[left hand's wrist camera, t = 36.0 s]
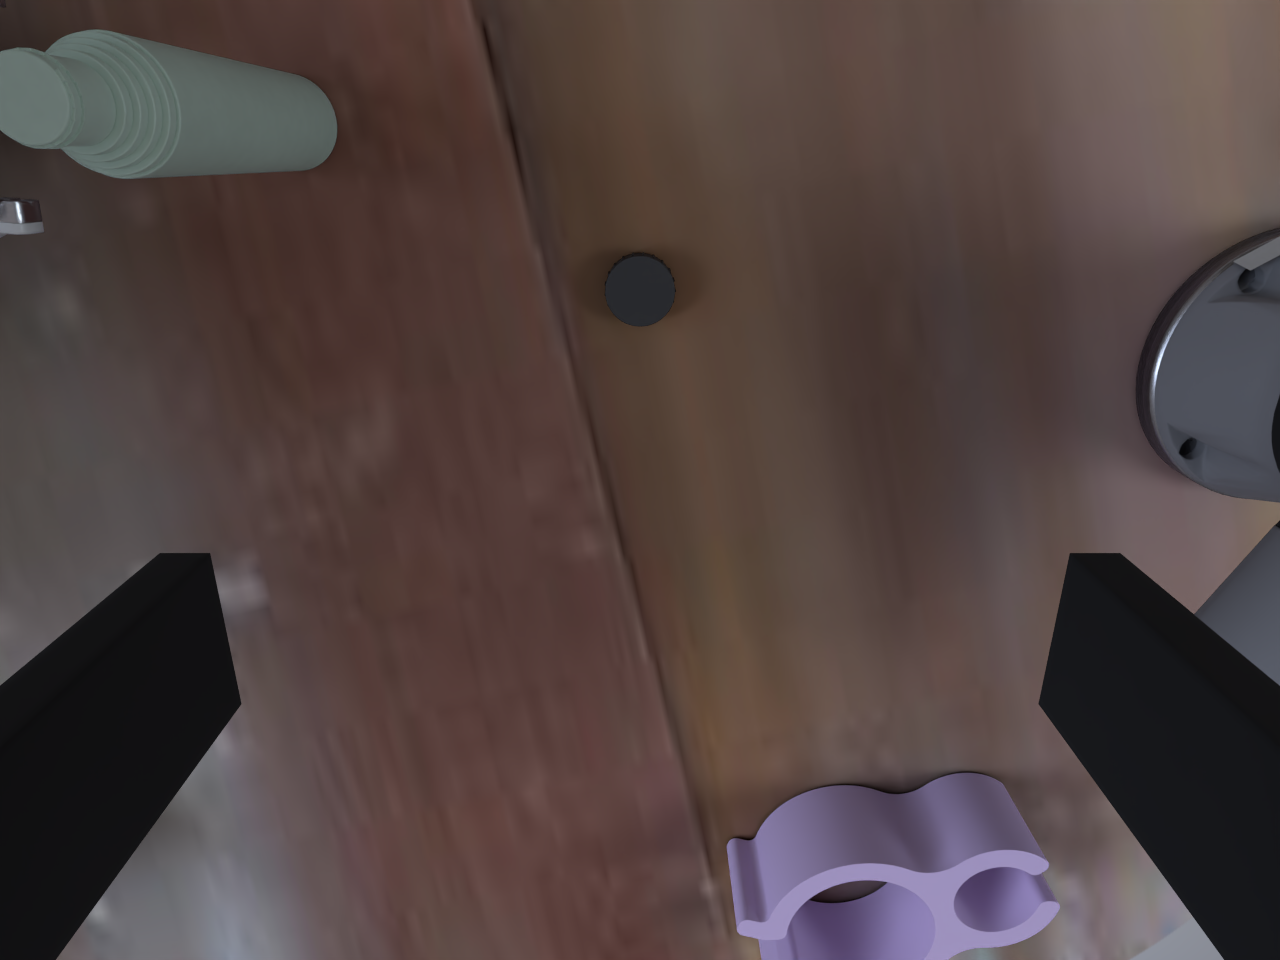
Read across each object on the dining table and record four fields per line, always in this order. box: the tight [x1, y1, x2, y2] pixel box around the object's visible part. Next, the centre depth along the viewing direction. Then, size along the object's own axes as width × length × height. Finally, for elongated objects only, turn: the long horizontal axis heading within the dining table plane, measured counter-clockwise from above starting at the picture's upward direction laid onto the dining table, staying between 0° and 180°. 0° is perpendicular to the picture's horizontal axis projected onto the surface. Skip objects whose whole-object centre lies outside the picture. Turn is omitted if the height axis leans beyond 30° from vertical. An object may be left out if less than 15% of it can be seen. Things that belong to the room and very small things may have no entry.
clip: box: [727, 773, 1060, 960], centre depth 57 cm, size 20×12×7 cm, turn 111°
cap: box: [605, 252, 676, 326], centre depth 46 cm, size 4×4×2 cm
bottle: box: [0, 29, 337, 179], centre depth 34 cm, size 5×5×20 cm
